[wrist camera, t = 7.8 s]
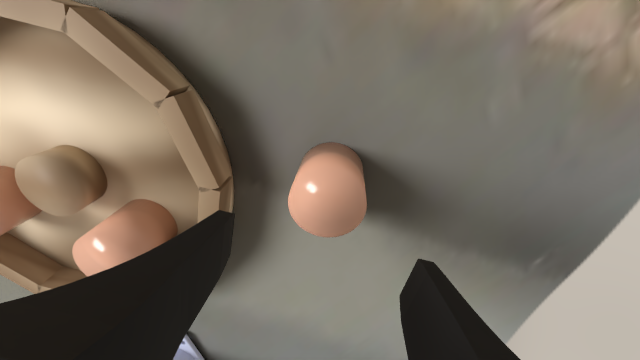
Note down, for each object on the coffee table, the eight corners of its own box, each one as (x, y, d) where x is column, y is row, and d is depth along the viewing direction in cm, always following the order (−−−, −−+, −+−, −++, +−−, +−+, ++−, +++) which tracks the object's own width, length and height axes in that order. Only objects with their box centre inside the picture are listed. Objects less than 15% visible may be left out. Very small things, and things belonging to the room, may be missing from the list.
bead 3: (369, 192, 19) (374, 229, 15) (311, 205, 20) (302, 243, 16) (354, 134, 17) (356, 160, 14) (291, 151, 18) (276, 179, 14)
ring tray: (277, 258, 22) (268, 286, 19) (66, 297, 26) (35, 325, 23) (126, -74, 14) (77, -100, 11) (-145, 60, 18) (-226, 63, 15)
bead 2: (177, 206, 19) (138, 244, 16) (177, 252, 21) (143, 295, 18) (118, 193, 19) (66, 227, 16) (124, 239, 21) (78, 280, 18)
